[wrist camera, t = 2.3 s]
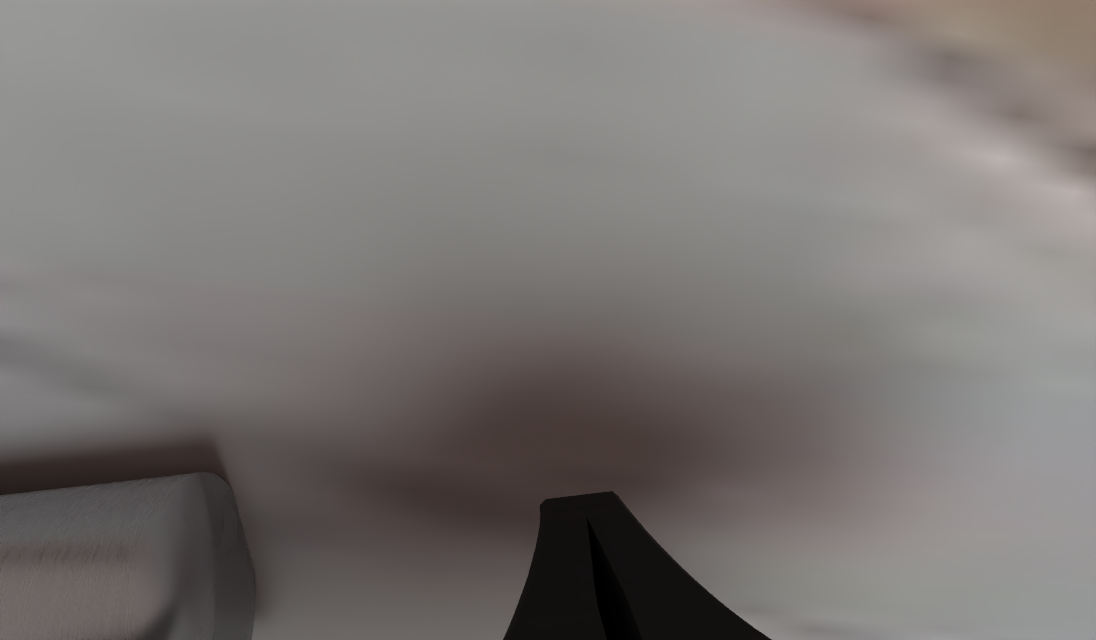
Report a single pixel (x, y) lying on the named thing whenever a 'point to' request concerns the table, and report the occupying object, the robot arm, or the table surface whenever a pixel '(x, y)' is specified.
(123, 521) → the axle
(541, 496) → the table surface
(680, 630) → the robot arm
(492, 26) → the table surface
